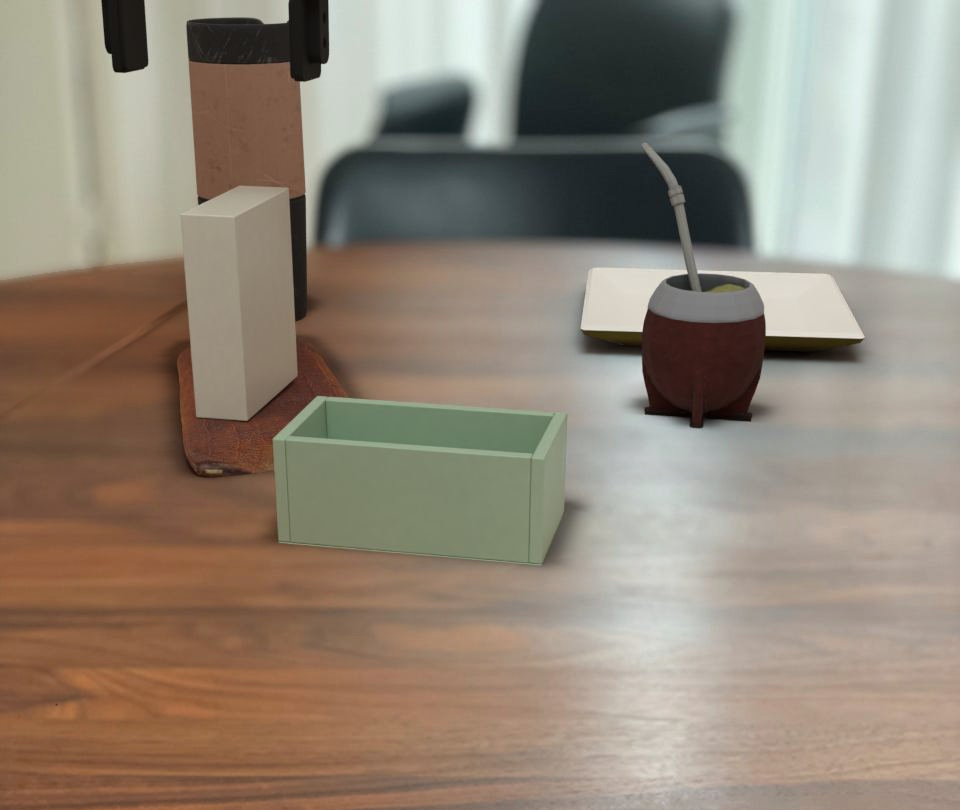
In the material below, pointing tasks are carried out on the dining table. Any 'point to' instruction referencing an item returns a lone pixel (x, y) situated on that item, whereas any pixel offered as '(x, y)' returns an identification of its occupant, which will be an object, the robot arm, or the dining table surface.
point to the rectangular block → (240, 300)
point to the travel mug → (249, 119)
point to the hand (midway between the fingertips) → (217, 74)
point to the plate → (786, 296)
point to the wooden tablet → (249, 442)
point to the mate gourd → (701, 336)
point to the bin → (421, 479)
